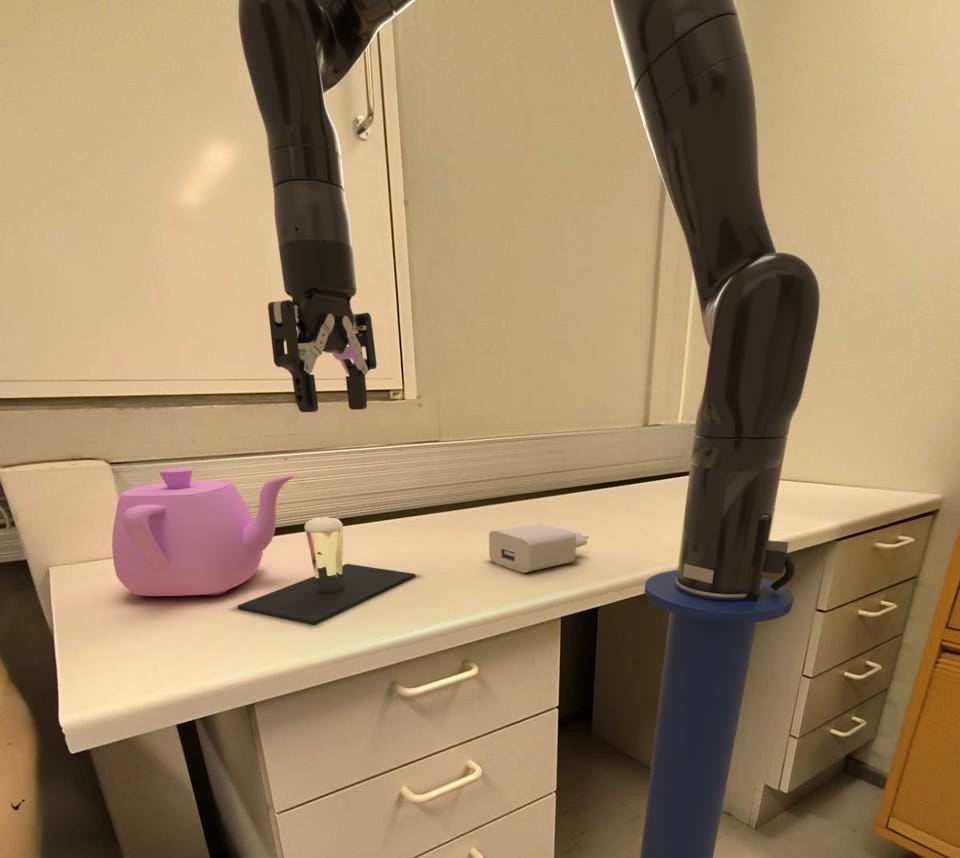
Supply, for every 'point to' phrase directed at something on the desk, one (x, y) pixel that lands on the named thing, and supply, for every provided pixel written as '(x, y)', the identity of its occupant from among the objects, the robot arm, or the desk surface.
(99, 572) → the desk surface
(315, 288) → the robot arm
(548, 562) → the charger
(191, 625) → the desk surface
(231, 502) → the teapot
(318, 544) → the milkshake
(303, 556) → the desk surface
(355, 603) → the mat
